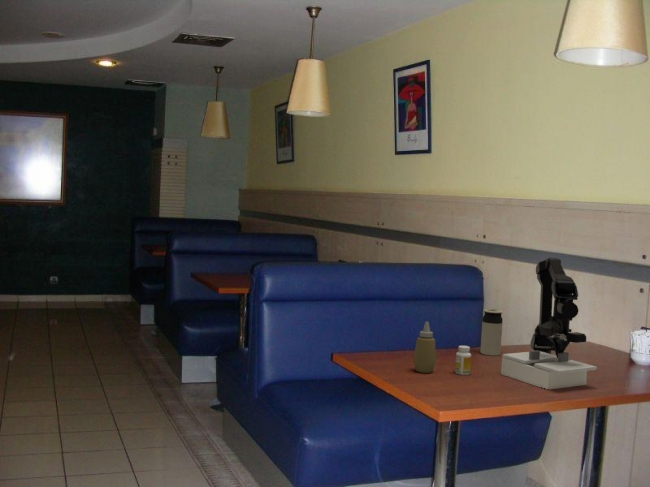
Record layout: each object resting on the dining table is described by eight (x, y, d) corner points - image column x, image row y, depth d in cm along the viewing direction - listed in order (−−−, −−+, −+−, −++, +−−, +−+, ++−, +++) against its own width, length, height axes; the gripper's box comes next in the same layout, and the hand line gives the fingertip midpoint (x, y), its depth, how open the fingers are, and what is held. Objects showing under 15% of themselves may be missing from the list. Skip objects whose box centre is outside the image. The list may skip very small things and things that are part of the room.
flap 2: (571, 362, 263) (572, 351, 263) (596, 369, 253) (597, 358, 253) (534, 366, 254) (535, 355, 253) (559, 374, 244) (560, 362, 244)
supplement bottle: (471, 372, 267) (472, 346, 266) (468, 375, 262) (470, 348, 261) (456, 370, 269) (457, 344, 268) (453, 373, 264) (455, 347, 263)
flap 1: (538, 353, 276) (539, 342, 276) (561, 359, 267) (562, 349, 266) (502, 356, 267) (503, 346, 266) (524, 363, 257) (525, 352, 257)
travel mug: (479, 354, 299) (482, 310, 298) (481, 351, 307) (484, 308, 305) (499, 356, 297) (502, 312, 295) (500, 353, 304) (503, 309, 303)
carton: (538, 370, 277) (539, 354, 276) (585, 384, 258) (587, 367, 257) (500, 374, 267) (502, 357, 266) (547, 389, 248) (548, 372, 248)
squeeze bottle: (438, 370, 267) (441, 321, 266) (431, 375, 260) (434, 324, 259) (416, 367, 271) (419, 319, 269) (409, 371, 263) (412, 322, 262)
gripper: (525, 310, 264) (522, 353, 265) (566, 319, 248) (563, 365, 249) (547, 309, 270) (544, 351, 271) (589, 318, 254) (585, 363, 255)
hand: (558, 357), depth 261 cm, fingers closed
